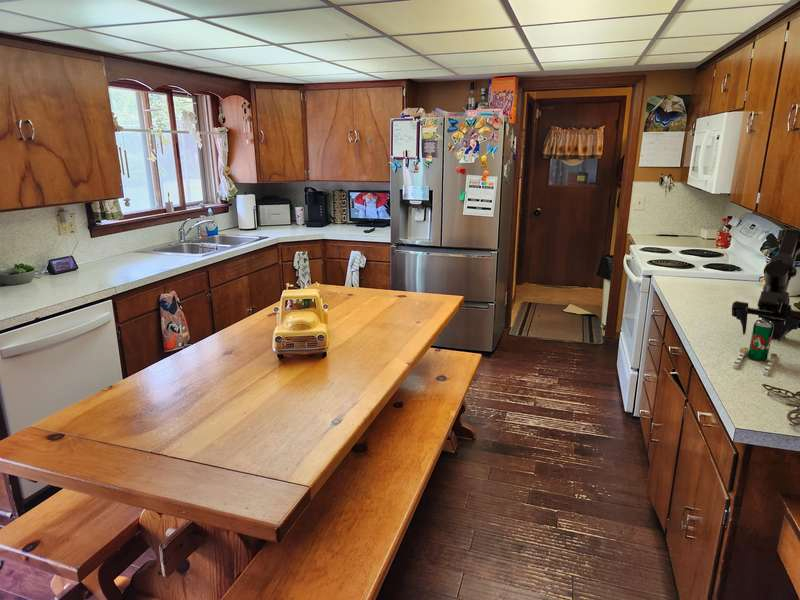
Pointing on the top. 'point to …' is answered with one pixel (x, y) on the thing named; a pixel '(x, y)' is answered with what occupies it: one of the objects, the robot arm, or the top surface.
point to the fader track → (744, 356)
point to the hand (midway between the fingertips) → (760, 337)
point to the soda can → (761, 340)
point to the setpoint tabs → (773, 356)
